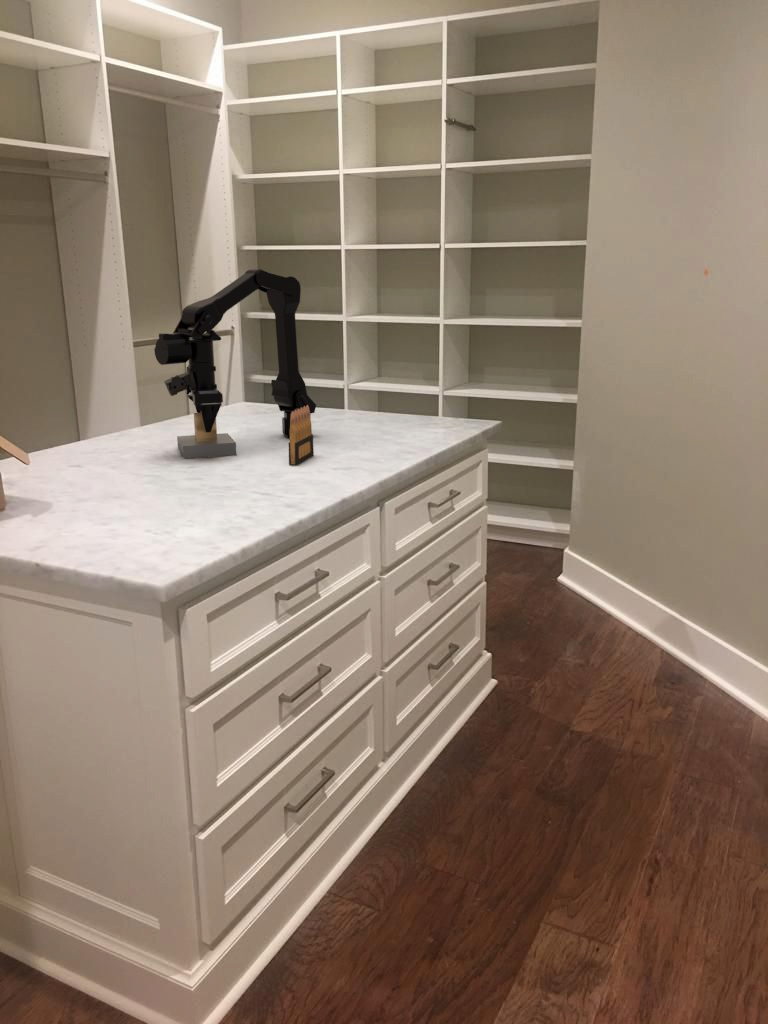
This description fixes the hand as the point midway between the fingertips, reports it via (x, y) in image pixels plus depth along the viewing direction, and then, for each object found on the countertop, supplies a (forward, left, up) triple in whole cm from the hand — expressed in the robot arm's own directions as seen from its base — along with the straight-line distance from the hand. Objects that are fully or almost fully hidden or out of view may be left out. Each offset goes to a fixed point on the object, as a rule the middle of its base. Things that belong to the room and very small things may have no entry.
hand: (205, 428), depth 198 cm
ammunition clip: (-19, +16, -6) cm, 26 cm away
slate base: (0, 0, -6) cm, 6 cm away
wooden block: (0, 0, -2) cm, 2 cm away
